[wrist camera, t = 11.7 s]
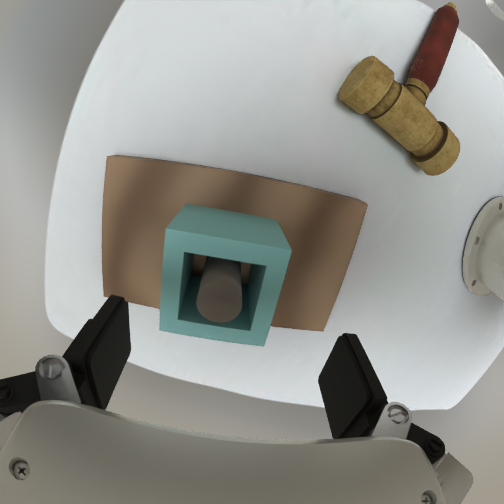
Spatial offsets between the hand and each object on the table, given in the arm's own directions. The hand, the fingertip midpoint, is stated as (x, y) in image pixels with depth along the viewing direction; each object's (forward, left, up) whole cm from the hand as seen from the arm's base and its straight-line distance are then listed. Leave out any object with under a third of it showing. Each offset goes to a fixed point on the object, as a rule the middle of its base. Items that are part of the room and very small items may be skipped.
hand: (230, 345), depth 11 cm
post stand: (+1, 0, -12) cm, 12 cm away
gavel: (-13, -21, -12) cm, 28 cm away
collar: (+1, 0, -10) cm, 10 cm away
